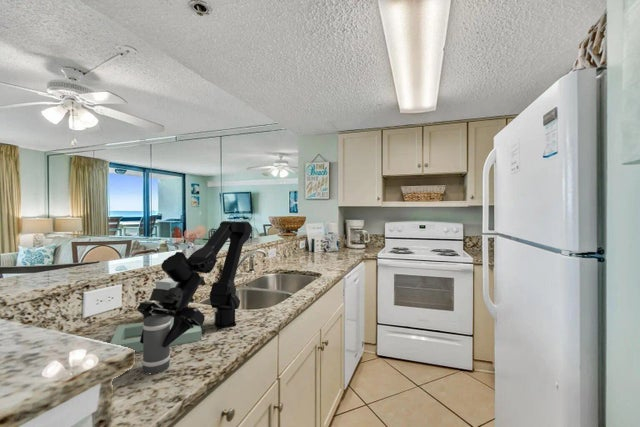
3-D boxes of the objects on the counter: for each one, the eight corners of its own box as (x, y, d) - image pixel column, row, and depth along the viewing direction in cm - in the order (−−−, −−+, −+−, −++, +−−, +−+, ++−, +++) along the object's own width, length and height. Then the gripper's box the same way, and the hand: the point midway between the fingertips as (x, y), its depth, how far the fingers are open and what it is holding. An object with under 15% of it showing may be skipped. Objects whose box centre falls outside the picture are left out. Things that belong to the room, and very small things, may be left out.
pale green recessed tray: (197, 322, 104) (197, 314, 104) (201, 340, 90) (201, 330, 90) (117, 335, 93) (118, 325, 93) (108, 357, 79) (108, 346, 79)
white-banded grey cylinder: (169, 359, 78) (170, 312, 78) (169, 370, 73) (170, 320, 73) (143, 365, 75) (144, 316, 75) (141, 377, 70) (142, 324, 70)
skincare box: (184, 317, 109) (184, 279, 109) (170, 323, 104) (171, 282, 104) (168, 314, 113) (169, 276, 113) (154, 319, 107) (155, 280, 107)
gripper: (142, 272, 80) (102, 326, 70) (198, 278, 75) (164, 336, 65) (164, 293, 88) (131, 344, 77) (216, 299, 83) (188, 355, 72)
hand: (152, 344), depth 73 cm, fingers open, 7 cm apart
